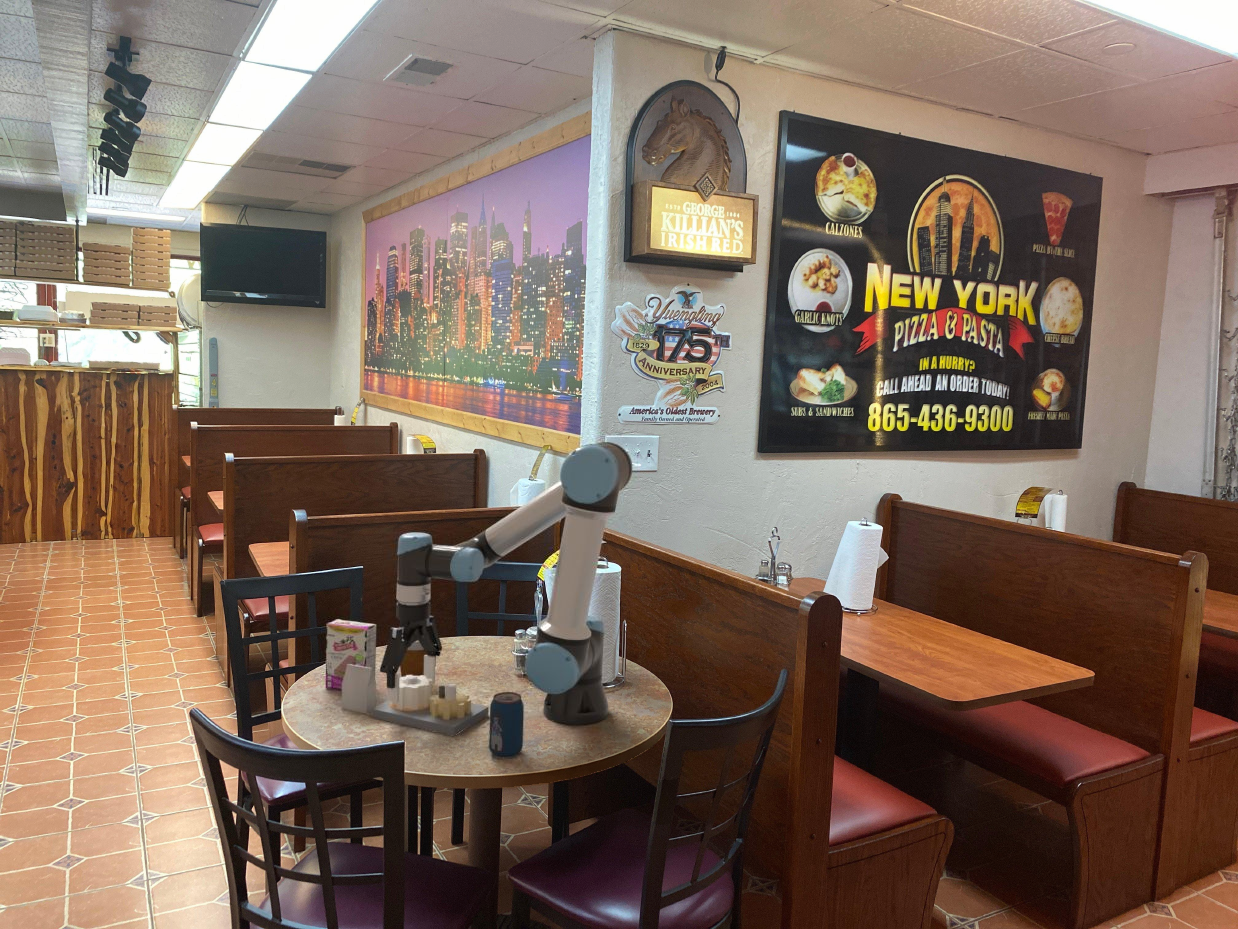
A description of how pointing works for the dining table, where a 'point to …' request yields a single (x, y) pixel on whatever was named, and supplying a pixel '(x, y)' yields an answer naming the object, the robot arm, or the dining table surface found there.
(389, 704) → the gear board
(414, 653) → the disposable coffee cup
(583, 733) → the dining table surface
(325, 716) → the dining table surface
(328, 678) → the candy bar box
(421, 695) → the loose gear
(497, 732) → the soda can
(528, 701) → the dining table surface
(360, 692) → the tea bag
